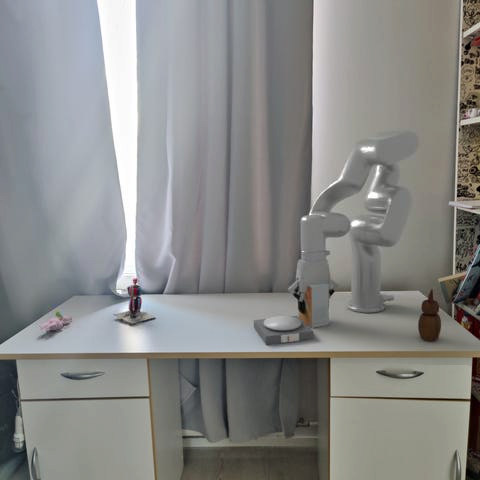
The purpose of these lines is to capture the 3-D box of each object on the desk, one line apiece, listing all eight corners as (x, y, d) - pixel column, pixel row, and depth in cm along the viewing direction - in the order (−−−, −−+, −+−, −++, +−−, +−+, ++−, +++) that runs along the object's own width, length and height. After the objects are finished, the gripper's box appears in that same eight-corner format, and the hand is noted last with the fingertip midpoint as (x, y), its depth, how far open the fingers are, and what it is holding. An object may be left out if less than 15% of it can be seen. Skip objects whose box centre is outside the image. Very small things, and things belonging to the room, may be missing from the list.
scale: (297, 323, 154) (297, 312, 153) (314, 340, 140) (314, 328, 139) (254, 327, 151) (253, 317, 151) (266, 345, 137) (266, 333, 136)
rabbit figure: (59, 325, 163) (33, 334, 149) (58, 307, 163) (33, 315, 148) (76, 325, 163) (53, 335, 148) (76, 307, 162) (52, 315, 148)
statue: (155, 322, 163) (156, 279, 159) (131, 329, 156) (132, 285, 153) (136, 311, 170) (136, 270, 167) (112, 318, 164) (112, 275, 160)
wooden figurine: (437, 345, 134) (439, 291, 131) (415, 341, 137) (417, 289, 134) (442, 336, 139) (444, 285, 137) (421, 333, 143) (422, 283, 140)
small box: (298, 320, 157) (297, 280, 154) (315, 317, 159) (315, 278, 157) (311, 328, 149) (311, 286, 147) (329, 325, 152) (329, 284, 149)
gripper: (335, 251, 156) (334, 305, 159) (282, 255, 152) (283, 310, 155) (344, 255, 148) (344, 312, 152) (289, 260, 145) (290, 318, 148)
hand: (313, 310), depth 153 cm, fingers closed on small box, 7 cm apart
